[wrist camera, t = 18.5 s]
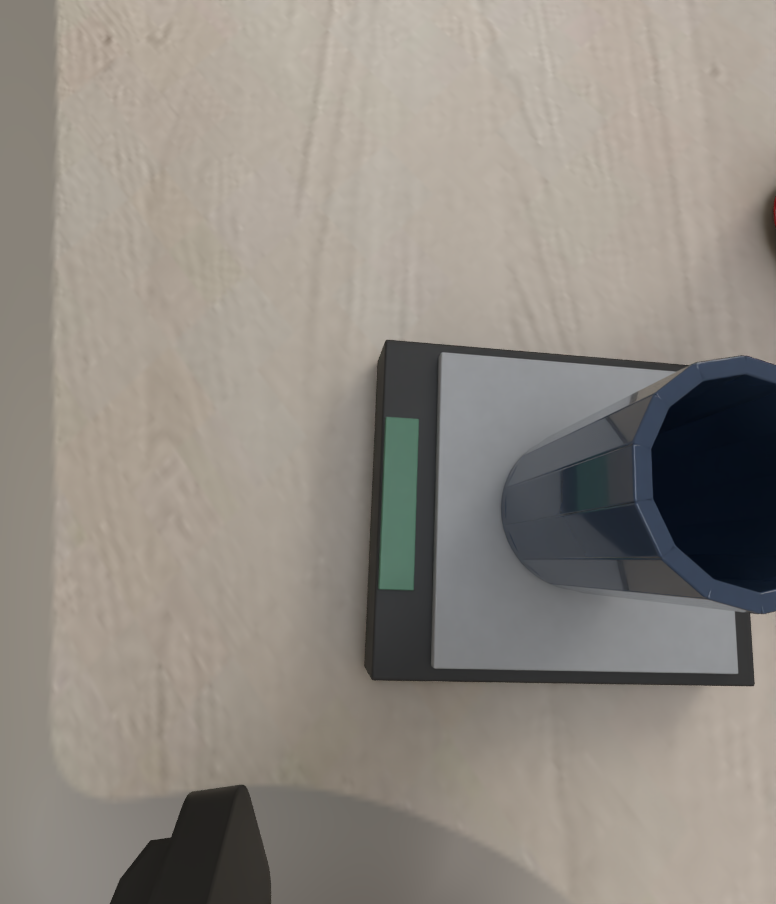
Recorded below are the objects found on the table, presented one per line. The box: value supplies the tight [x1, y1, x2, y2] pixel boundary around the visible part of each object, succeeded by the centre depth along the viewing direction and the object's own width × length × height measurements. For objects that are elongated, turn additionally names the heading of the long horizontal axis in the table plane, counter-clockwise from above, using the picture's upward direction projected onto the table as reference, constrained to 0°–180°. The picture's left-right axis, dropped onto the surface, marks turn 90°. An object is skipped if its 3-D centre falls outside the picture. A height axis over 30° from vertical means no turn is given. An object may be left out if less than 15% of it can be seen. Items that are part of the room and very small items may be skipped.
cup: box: [501, 355, 776, 614], centre depth 18 cm, size 6×6×9 cm
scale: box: [365, 340, 755, 686], centre depth 24 cm, size 14×12×3 cm
